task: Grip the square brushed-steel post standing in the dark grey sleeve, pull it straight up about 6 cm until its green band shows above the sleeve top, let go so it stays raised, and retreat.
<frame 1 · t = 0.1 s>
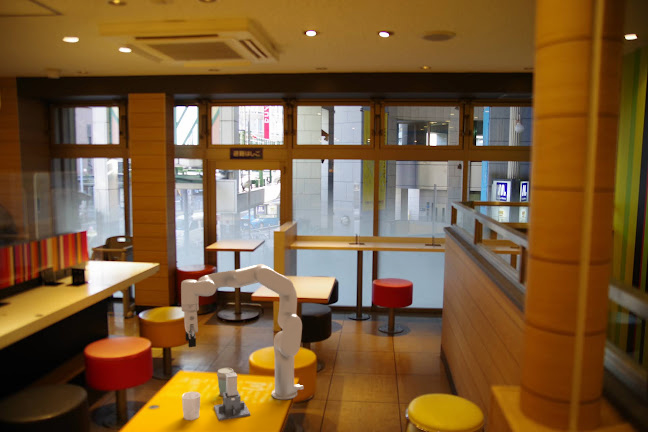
hand: (190, 343, 237), 31 cm above the table, fingers open, 9 cm apart
coffee cup: (225, 394, 257), on the table
post: (231, 391, 237), point 9 cm above the table, slide at 0.0 cm
white cup: (191, 417, 232), on the table
stand base: (231, 411, 238), on the table
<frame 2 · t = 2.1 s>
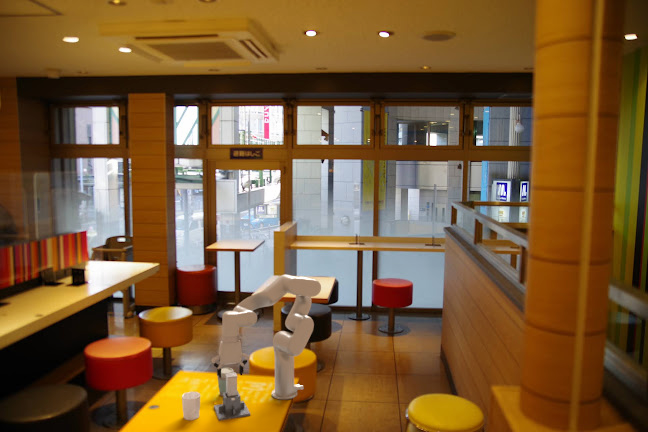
hand: (230, 375, 236), 17 cm above the table, fingers open, 9 cm apart
nothing on the table moved.
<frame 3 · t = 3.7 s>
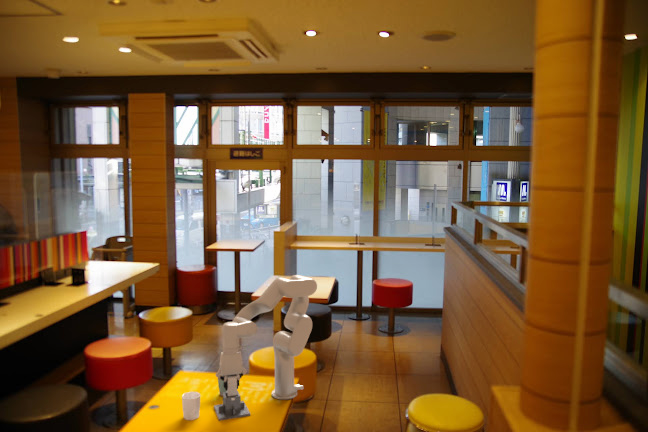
hand: (231, 388, 237), 11 cm above the table, fingers closed on post, 4 cm apart
post: (231, 391, 237), point 9 cm above the table, slide at 0.0 cm, touching gripper
everything else where it was.
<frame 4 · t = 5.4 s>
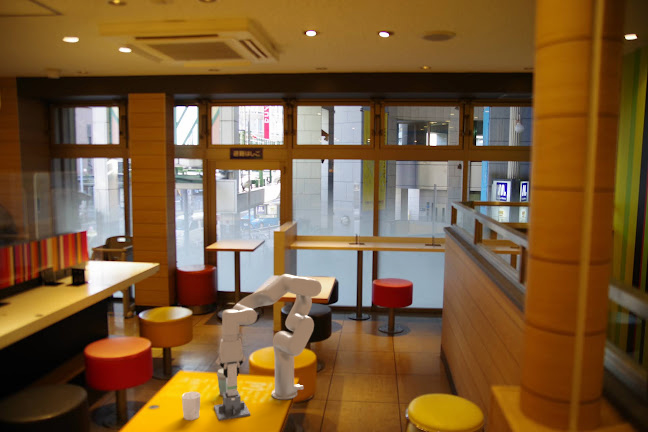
hand: (231, 375, 236), 17 cm above the table, fingers closed on post, 4 cm apart
post: (231, 379, 236), point 15 cm above the table, slide at 5.9 cm, touching gripper
everything else where it was.
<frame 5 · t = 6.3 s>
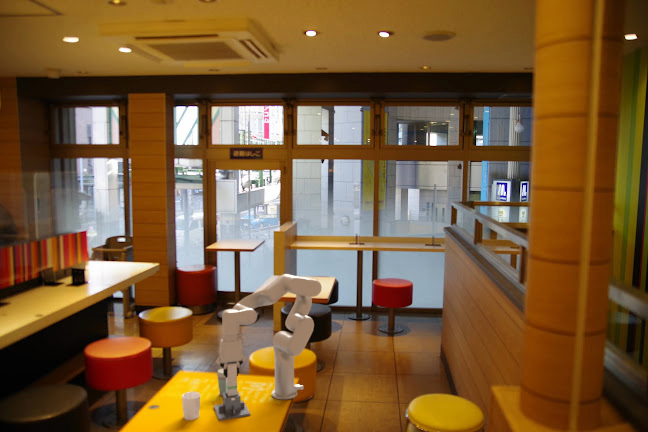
hand: (231, 375, 236), 17 cm above the table, fingers closed on post, 4 cm apart
post: (231, 379, 236), point 15 cm above the table, slide at 6.0 cm, touching gripper
everything else where it was.
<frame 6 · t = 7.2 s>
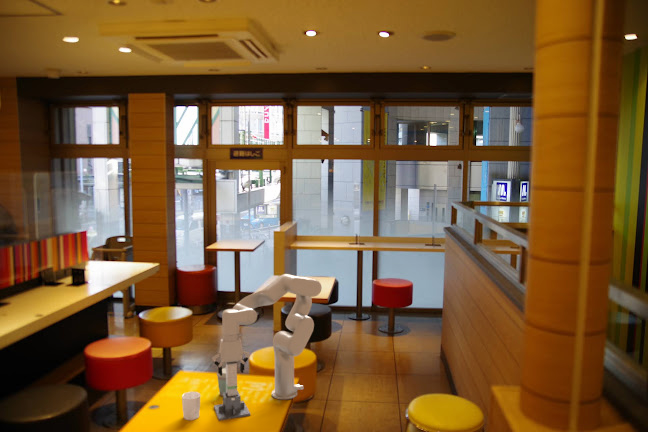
hand: (231, 373, 236), 18 cm above the table, fingers open, 9 cm apart
post: (231, 379, 236), point 15 cm above the table, slide at 6.0 cm
everything else where it was.
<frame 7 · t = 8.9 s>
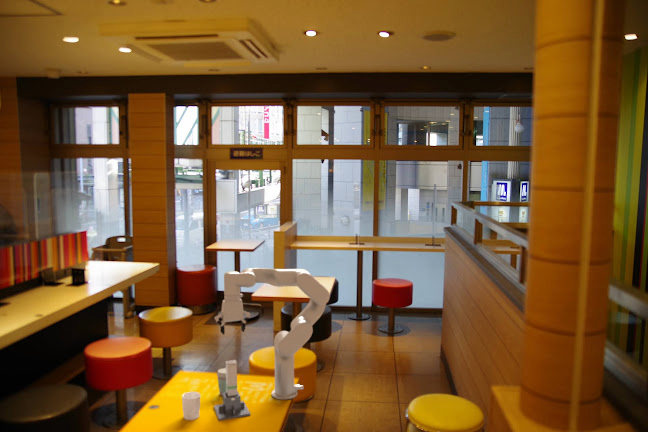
hand: (233, 332, 248), 33 cm above the table, fingers open, 9 cm apart
nothing on the table moved.
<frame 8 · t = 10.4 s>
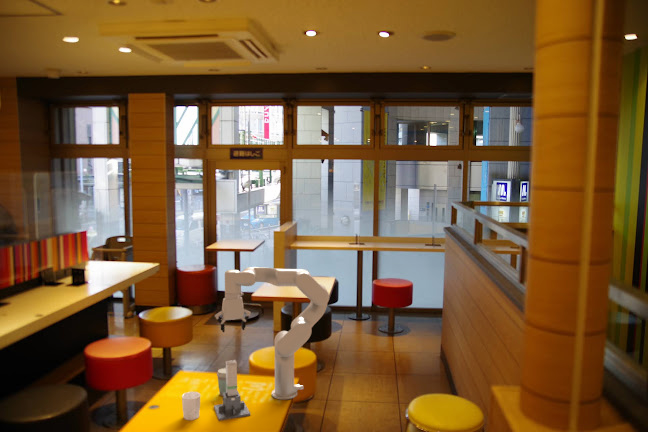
hand: (233, 330, 250), 33 cm above the table, fingers open, 9 cm apart
nothing on the table moved.
at the end: post slide at 6.0 cm; the gripper is holding nothing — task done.
